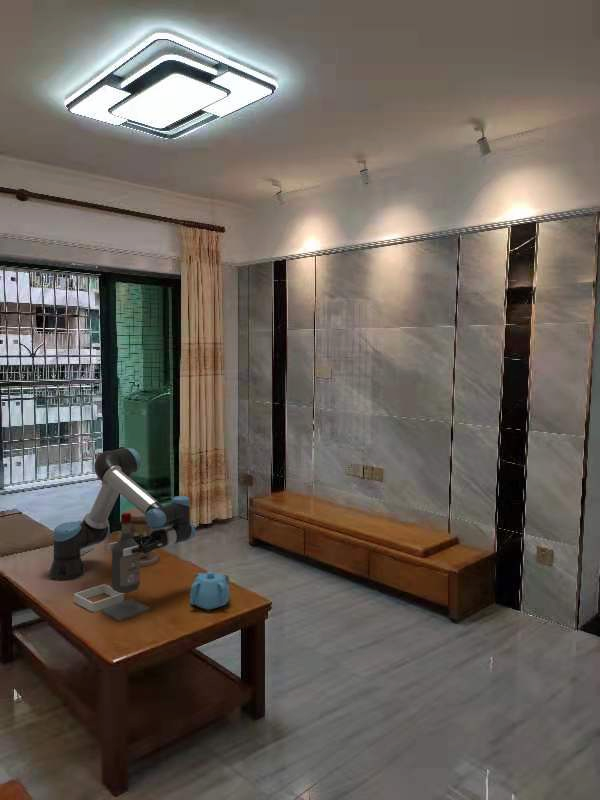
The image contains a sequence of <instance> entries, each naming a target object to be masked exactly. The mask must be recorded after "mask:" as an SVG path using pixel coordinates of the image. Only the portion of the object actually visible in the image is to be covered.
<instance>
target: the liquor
mask: <svg viewBox="0 0 600 800" xmlns="http://www.w3.org/2000/svg"><path fill="white" fill-rule="evenodd" d="M120 516H121V518H120V520H121V535H120V538H119V540H117V541H116V542H117V543H116V544H115V545H114V547H113V549H112V551H111V587H112V588H113V590H115V591H117V592H120V593H124V594H126V593H130V592H133V591H136V590H138V589H139V587H140V581H141V579H140V578H141V577H140V576H141V575H140V573H141V572H140V569H141V567H140V553H139V552H138V553H135V554H132V555H128V556H125V557H124V556H123V549H126V548H130V547H134V546H138V548H139V545H138V544H137V543H136V542H135V541H134V540H133V539H132V537H131V513H123V512H122V513H121V515H120Z"/></svg>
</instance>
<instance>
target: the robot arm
mask: <svg viewBox="0 0 600 800" xmlns="http://www.w3.org/2000/svg"><path fill="white" fill-rule="evenodd" d="M93 466H94V467H93V468H94V473H95V475H96V476H97V478H98V479H99V480H100V481H101V482H102V485H101V487H100V490H99V492H98V494H97V496H96V499H95V500H94V503H93V505H92V508H91V510H90V512H88V513H86V514H85V515H84V518H83V519H82V521H83V522H82V523H79V522H77V521H69V522H68V521H66V522H63V523H60V524H59V525H57V526H55V528H54V530H53V537H52V539H53V560H52V564H51V565H50V569H49V576H50V577H51V578H53V579H52V580H54V579H58V580H57V581H69V580H75V579H78V578H81V577H83V576H84V575H85V572H86V571H85V570H86V569H85V566H84V563H83V559H82V555H81V549H82V548H85V547H88V546H91V545H94V546H95V545H98V544H100V543H103V542H105V541H106V540H107V538H109V535H110V532H111V529H110V522H109V519H108V518H109V516H110V514H111V512H112V510H113V508H114V506H115V503H116V501H117V499H118V497H119V495H121V496H122V497H123V498H125V500H126V501H128V503H130V504H132V506H134V508H137V509H138V510H140V511H141V512H142V513H143V514H144V515H145V520H146V522H147V525H148V526H150V527H152V529H155V528H159V527H161V528H160V529H155V530H153V532H152V533H151V535H147V534H146V535H144V534H143V535H139V534H137V535H134V536H133V537H132V539H133V540H134V541H135V542H136V543H137V544H138V545H139V548H138V546H134V547H130V548H126V549H123V556H124V557H125V556H128V555H132V554H135V553H138V552H139V553H142V552H143V553H147V552H150V551H152V552H153V551H155V550H158V549H160V548H161V549H162V548H166V547H170V546H171V545H174V544H178V543H182V542H187V541H189V540H192V539H194V537H195V536H196V532H197V531H196V526H195V524H194V523H193V522H191V502H190V501H191V499H190V497H188V496H185V495H178V496H177V495H176V496H174V497H173V498H172V502H171V503H170V504H166V505H162V503H161V502H159V501H158V500H157V499H155V498H154V497H153V496H152V495H151V494H150V493H148V492H147V491H146V490H145V489H144V488H143V487H141V486H140V485H139V484H137V482H135V481H134V480H133V479H132V478H131V476H132V474H133V473H137V472H138V471H139V470H140V469H141V466H142V460H141V457H140V454H139V452H138V451H137V450H136V449H134V448H132V447H124V448H118V449H113V450H106V451H103V452H101V453H99V455H97V457H96V459H95V460H94V465H93ZM168 524H172V525H170V526H167V527H163V526H165V525H168ZM117 542H118V541H114V542H111V543H107V544H108V546H107V548H108V549H107V550H108V552H112V549H113V547H114V545H115V544H116V543H117ZM146 549H147V550H146ZM50 577H49V578H50ZM51 578H50V579H51Z"/></svg>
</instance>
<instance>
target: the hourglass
mask: <svg viewBox="0 0 600 800" xmlns="http://www.w3.org/2000/svg"><path fill="white" fill-rule="evenodd" d="M123 513H131V537H133V536H135V532H136V533H137V535H143V536H144V533H145V532H146V536H147V535H151V533H152V532H153V531H154V530H153V529H154V528H152V527H150V526H148V525H147V522H146V520H145V515H144V514H143V513H142V512H141V511H140V510H138V509H137V508H136V507H133V508H129V509H126V510H124V511H123V512H122V514H123ZM146 550H147V549H146ZM159 560H160V557H159V554H158V553H156V552H154V551H153V550H152V551H150V552H147V553H143V552H142V553H140V568H142V567H143V568H144V567H149V566H153V565H155V564H156V563H158V562H159Z"/></svg>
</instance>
